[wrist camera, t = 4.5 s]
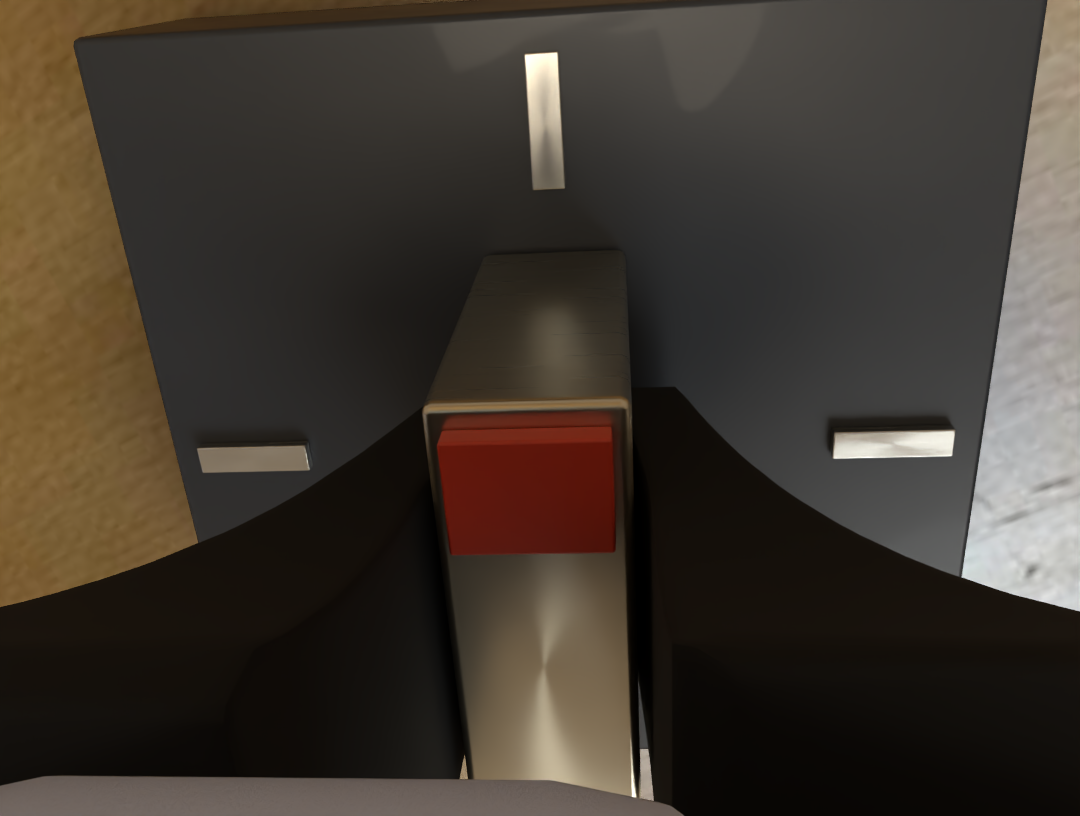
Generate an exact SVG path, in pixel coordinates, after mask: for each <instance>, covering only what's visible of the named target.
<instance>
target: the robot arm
mask: <svg viewBox="0 0 1080 816" xmlns="http://www.w3.org/2000/svg"><path fill="white" fill-rule="evenodd" d="M631 398H632V435H633V478H634V521H635V564H636V607H637V650H638V681H639V688H640V695H641V702H642V709H643V716H644V722H645V729H646V736H647V743H648V750H649V757H650V765H651V775H652V785H653V796H654V801H651V800H646V799H641V798H636V797H631V796H627V795H622V794H617V793H612V792H607V791H602V790H597V789H592V788H587V787H583V786H578V785H573V784H568V783H563V782H558V781H553V780H482V779H460V774H461V768H462V763H463V759H464V755H465V751H464V743H463V735H462V727H461V719H460V711H459V703H458V695H457V687H456V679H455V671H454V663H453V655H452V647H451V639H450V631H449V624H448V616H447V608H446V600H445V592H444V584H443V576H442V568H441V560H440V552H439V544H438V536H437V528H436V520H435V512H434V504H433V496H432V489H431V481H430V473H429V465H428V457H427V449H426V441H425V433H424V425H423V417H422V409H423V407H421V408H420V409H419V410H417V411H416V412H415V413H413V414H412V415H411V416H409V417H408V418H407V419H406V420H404V421H403V422H402V423H400V424H399V425H398V426H396V427H395V428H394V429H392V430H391V431H390V432H388V433H387V434H386V435H384V436H383V437H382V438H380V439H379V440H378V441H376V442H375V443H374V444H372V445H371V446H370V447H368V448H367V449H366V450H364V451H363V452H361V453H360V454H359V455H357V456H356V457H354V458H353V459H351V460H350V461H348V462H347V463H345V464H343V465H342V466H340V467H339V468H337V469H336V470H334V471H333V472H331V473H330V474H328V475H327V476H325V477H324V478H322V479H321V480H319V481H318V482H316V483H315V484H313V485H312V486H310V487H309V488H307V489H306V490H304V491H302V492H300V493H299V494H297V495H295V496H294V497H292V498H290V499H288V500H287V501H285V502H283V503H281V504H280V505H278V506H276V507H274V508H272V509H270V510H268V511H266V512H264V513H262V514H260V515H259V516H257V517H255V518H253V519H251V520H249V521H247V522H245V523H243V524H241V525H239V526H237V527H235V528H233V529H230V530H228V531H226V532H224V533H222V534H219V535H217V536H214V537H212V538H209V539H207V540H205V541H202V542H200V543H197V544H195V545H192V546H190V547H188V548H185V549H183V550H180V551H178V552H175V553H173V554H171V555H168V556H166V557H163V558H161V559H158V560H156V561H154V562H151V563H148V564H145V565H143V566H140V567H137V568H134V569H131V570H128V571H125V572H122V573H119V574H116V575H113V576H110V577H107V578H104V579H101V580H98V581H95V582H91V583H88V584H84V585H81V586H78V587H74V588H71V589H68V590H64V591H61V592H58V593H54V594H51V595H47V596H43V597H39V598H36V599H32V600H28V601H25V602H21V603H16V604H12V605H7V606H3V607H0V816H1080V612H1079V611H1075V610H1071V609H1067V608H1063V607H1059V606H1056V605H1052V604H1048V603H1044V602H1040V601H1036V600H1032V599H1028V598H1024V597H1020V596H1016V595H1013V594H1009V593H1006V592H1003V591H999V590H996V589H993V588H991V587H988V586H985V585H982V584H979V583H976V582H973V581H970V580H967V579H964V578H961V577H958V576H955V575H953V574H950V573H947V572H944V571H941V570H939V569H936V568H934V567H931V566H929V565H926V564H924V563H921V562H919V561H916V560H914V559H911V558H909V557H906V556H904V555H902V554H900V553H898V552H895V551H893V550H891V549H889V548H887V547H885V546H883V545H880V544H878V543H876V542H874V541H872V540H870V539H868V538H865V537H863V536H861V535H859V534H857V533H855V532H854V531H852V530H850V529H848V528H846V527H844V526H842V525H840V524H839V523H837V522H835V521H833V520H832V519H830V518H828V517H827V516H825V515H823V514H822V513H820V512H819V511H817V510H815V509H814V508H812V507H810V506H809V505H807V504H805V503H804V502H802V501H801V500H799V499H797V498H796V497H794V496H793V495H792V494H790V493H789V492H787V491H786V490H784V489H783V488H782V487H780V486H779V485H777V484H776V483H775V482H774V481H772V480H771V479H770V478H769V477H767V476H766V475H765V474H763V473H762V472H761V471H760V470H758V469H757V468H756V467H754V466H753V465H752V464H751V463H750V462H748V461H747V460H746V459H745V458H744V457H743V456H741V455H740V454H739V453H738V452H737V451H736V450H735V449H734V448H733V447H732V446H731V445H730V444H729V443H728V442H727V441H726V440H725V439H724V438H723V437H722V436H721V435H720V434H719V433H718V432H717V431H716V430H715V429H714V428H713V427H712V426H711V425H710V424H709V423H708V422H707V421H706V420H705V418H704V417H703V416H702V415H701V414H700V413H699V412H698V411H697V410H696V408H695V407H694V406H693V405H692V404H691V403H690V401H689V400H688V399H687V398H686V397H685V396H684V395H683V394H682V393H681V392H680V391H679V390H678V389H677V388H676V387H643V388H631Z"/></svg>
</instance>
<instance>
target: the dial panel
mask: <svg viewBox="0 0 1080 816" xmlns="http://www.w3.org/2000/svg"><path fill="white" fill-rule="evenodd" d="M1046 7H1047V0H469V1H454V2H438V3H423V4H407V5H392V6H376V7H361V8H345V9H329V10H314V11H298V12H283V13H267V14H252V15H236V16H221V17H205V18H190V19H181V20H175V21H170V22H164V23H158V24H153V25H147V26H141V27H136V28H130V29H124V30H119V31H113V32H107V33H102V34H96V35H90V36H85V37H80V38H78V39H76V40H75V41H74V50H75V54H76V58H77V62H78V66H79V70H80V74H81V78H82V82H83V86H84V90H85V94H86V98H87V102H88V106H89V110H90V114H91V118H92V122H93V126H94V130H95V134H96V137H97V141H98V145H99V149H100V153H101V157H102V161H103V165H104V169H105V173H106V177H107V181H108V185H109V189H110V193H111V197H112V201H113V205H114V209H115V213H116V217H117V221H118V225H119V229H120V233H121V237H122V241H123V245H124V249H125V253H126V257H127V261H128V265H129V269H130V273H131V276H132V280H133V284H134V288H135V292H136V296H137V300H138V304H139V308H140V312H141V316H142V320H143V324H144V328H145V332H146V336H147V340H148V344H149V348H150V352H151V356H152V360H153V364H154V368H155V372H156V376H157V380H158V384H159V388H160V392H161V396H162V400H163V404H164V408H165V412H166V416H167V419H168V423H169V427H170V431H171V435H172V439H173V443H174V447H175V451H176V455H177V459H178V463H179V467H180V471H181V475H182V479H183V483H184V487H185V491H186V495H187V499H188V503H189V507H190V511H191V515H192V519H193V523H194V527H195V531H196V535H197V539H198V543H200V542H202V541H205V540H207V539H209V538H212V537H214V536H217V535H219V534H222V533H224V532H226V531H228V530H230V529H233V528H235V527H237V526H239V525H241V524H243V523H245V522H247V521H249V520H251V519H253V518H255V517H257V516H259V515H260V514H262V513H264V512H266V511H268V510H270V509H272V508H274V507H276V506H278V505H280V504H281V503H283V502H285V501H287V500H288V499H290V498H292V497H294V496H295V495H297V494H299V493H300V492H302V491H304V490H306V489H307V488H309V487H310V486H312V485H313V484H315V483H316V482H318V481H319V480H321V479H322V478H324V477H325V476H327V475H328V474H330V473H331V472H333V471H334V470H336V469H337V468H339V467H340V466H342V465H343V464H345V463H347V462H348V461H350V460H351V459H353V458H354V457H356V456H357V455H359V454H360V453H361V452H363V451H364V450H366V449H367V448H368V447H370V446H371V445H372V444H374V443H375V442H376V441H378V440H379V439H380V438H382V437H383V436H384V435H386V434H387V433H388V432H390V431H391V430H392V429H394V428H395V427H396V426H398V425H399V424H400V423H402V422H403V421H404V420H406V419H407V418H408V417H409V416H411V415H412V414H413V413H415V412H416V411H417V410H419V409H420V408H421V407H423V406H424V403H425V401H426V398H427V396H428V393H429V391H430V388H431V386H432V383H433V381H434V378H435V376H436V374H437V371H438V369H439V366H440V364H441V361H442V359H443V356H444V354H445V352H446V349H447V347H448V344H449V342H450V339H451V337H452V334H453V332H454V329H455V327H456V325H457V322H458V320H459V317H460V315H461V312H462V310H463V307H464V305H465V302H466V300H467V298H468V295H469V293H470V290H471V288H472V285H473V283H474V280H475V278H476V276H477V273H478V271H479V268H480V266H481V263H482V261H483V258H484V257H486V256H488V255H505V254H530V253H554V252H579V251H603V250H619V251H622V252H623V253H624V255H625V259H626V282H627V305H628V328H629V352H630V375H631V388H643V387H676V388H677V389H678V390H679V391H680V392H681V393H682V394H683V395H684V396H685V397H686V398H687V399H688V400H689V401H690V403H691V404H692V405H693V406H694V407H695V408H696V410H697V411H698V412H699V413H700V414H701V415H702V416H703V417H704V418H705V420H706V421H707V422H708V423H709V424H710V425H711V426H712V427H713V428H714V429H715V430H716V431H717V432H718V433H719V434H720V435H721V436H722V437H723V438H724V439H725V440H726V441H727V442H728V443H729V444H730V445H731V446H732V447H733V448H734V449H735V450H736V451H737V452H738V453H739V454H740V455H741V456H743V457H744V458H745V459H746V460H747V461H748V462H750V463H751V464H752V465H753V466H754V467H756V468H757V469H758V470H760V471H761V472H762V473H763V474H765V475H766V476H767V477H769V478H770V479H771V480H772V481H774V482H775V483H776V484H777V485H779V486H780V487H782V488H783V489H784V490H786V491H787V492H789V493H790V494H792V495H793V496H794V497H796V498H797V499H799V500H801V501H802V502H804V503H805V504H807V505H809V506H810V507H812V508H814V509H815V510H817V511H819V512H820V513H822V514H823V515H825V516H827V517H828V518H830V519H832V520H833V521H835V522H837V523H839V524H840V525H842V526H844V527H846V528H848V529H850V530H852V531H854V532H855V533H857V534H859V535H861V536H863V537H865V538H868V539H870V540H872V541H874V542H876V543H878V544H880V545H883V546H885V547H887V548H889V549H891V550H893V551H895V552H898V553H900V554H902V555H904V556H906V557H909V558H911V559H914V560H916V561H919V562H921V563H924V564H926V565H929V566H931V567H934V568H936V569H939V570H941V571H944V572H947V573H950V574H953V575H955V576H958V577H961V576H962V569H963V563H964V556H965V549H966V543H967V536H968V529H969V523H970V516H971V509H972V502H973V496H974V489H975V482H976V476H977V469H978V462H979V456H980V449H981V442H982V435H983V429H984V422H985V415H986V409H987V402H988V395H989V389H990V382H991V375H992V368H993V362H994V355H995V348H996V342H997V335H998V328H999V322H1000V315H1001V308H1002V301H1003V295H1004V288H1005V281H1006V275H1007V268H1008V261H1009V255H1010V248H1011V241H1012V234H1013V228H1014V221H1015V214H1016V208H1017V201H1018V194H1019V188H1020V181H1021V174H1022V167H1023V161H1024V154H1025V147H1026V141H1027V134H1028V127H1029V121H1030V114H1031V107H1032V100H1033V94H1034V87H1035V80H1036V74H1037V67H1038V60H1039V54H1040V47H1041V40H1042V33H1043V27H1044V20H1045V13H1046ZM638 693H639V736H640V749H648V743H647V736H646V729H645V722H644V716H643V709H642V702H641V695H640V688H639V681H638Z"/></svg>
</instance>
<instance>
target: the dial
mask: <svg viewBox="0 0 1080 816" xmlns="http://www.w3.org/2000/svg"><path fill="white" fill-rule="evenodd" d="M422 417H423V425H424V433H425V441H426V449H427V457H428V465H429V473H430V481H431V489H432V496H433V504H434V512H435V520H436V528H437V536H438V544H439V552H440V560H441V568H442V576H443V584H444V592H445V600H446V608H447V616H448V624H449V631H450V639H451V647H452V655H453V663H454V671H455V679H456V687H457V695H458V703H459V711H460V719H461V727H462V735H463V743H464V751H465V759H466V766H467V774H468V779H482V780H553V781H558V782H563V783H568V784H573V785H578V786H583V787H587V788H592V789H597V790H602V791H607V792H612V793H617V794H622V795H627V796H631V797H636V798H641V779H640V736H639V693H638V650H637V607H636V564H635V521H634V478H633V435H632V398H631V375H630V352H629V328H628V305H627V282H626V259H625V255H624V253H623V252H622V251H619V250H603V251H579V252H554V253H530V254H505V255H488V256H486V257H484V258H483V261H482V263H481V266H480V268H479V271H478V273H477V276H476V278H475V280H474V283H473V285H472V288H471V290H470V293H469V295H468V298H467V300H466V302H465V305H464V307H463V310H462V312H461V315H460V317H459V320H458V322H457V325H456V327H455V329H454V332H453V334H452V337H451V339H450V342H449V344H448V347H447V349H446V352H445V354H444V356H443V359H442V361H441V364H440V366H439V369H438V371H437V374H436V376H435V378H434V381H433V383H432V386H431V388H430V391H429V393H428V396H427V398H426V401H425V403H424V406H423V409H422Z"/></svg>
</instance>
